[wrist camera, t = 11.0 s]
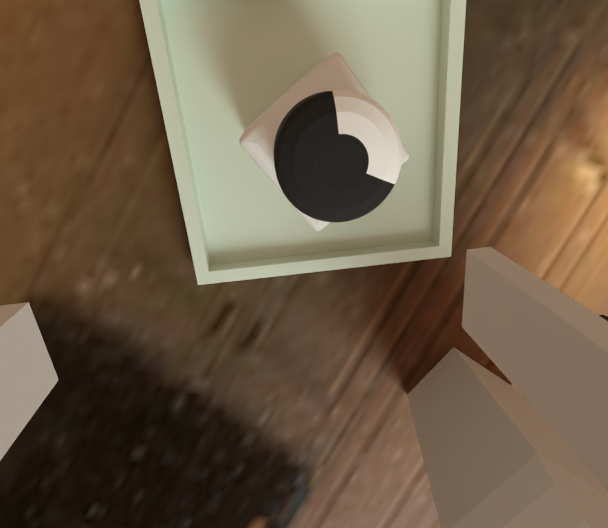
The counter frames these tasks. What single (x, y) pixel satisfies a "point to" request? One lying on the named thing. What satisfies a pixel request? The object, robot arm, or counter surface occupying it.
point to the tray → (269, 88)
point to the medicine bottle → (328, 145)
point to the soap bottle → (497, 455)
